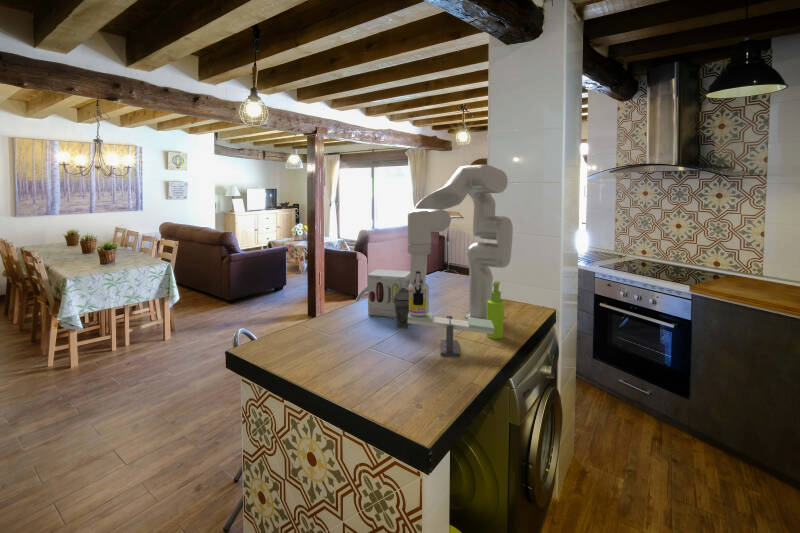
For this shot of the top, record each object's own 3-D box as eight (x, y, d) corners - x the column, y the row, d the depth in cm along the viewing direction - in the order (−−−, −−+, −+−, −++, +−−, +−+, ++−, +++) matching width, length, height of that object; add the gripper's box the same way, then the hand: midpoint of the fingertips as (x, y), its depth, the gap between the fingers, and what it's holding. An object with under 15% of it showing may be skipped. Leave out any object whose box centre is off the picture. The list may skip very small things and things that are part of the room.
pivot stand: (457, 342, 145) (458, 315, 143) (459, 356, 133) (459, 326, 131) (440, 342, 145) (440, 315, 143) (440, 355, 134) (440, 326, 132)
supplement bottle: (415, 309, 142) (415, 273, 140) (432, 312, 138) (432, 275, 136) (404, 314, 137) (404, 276, 135) (421, 317, 133) (422, 278, 131)
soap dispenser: (503, 333, 154) (505, 281, 150) (501, 339, 147) (504, 285, 144) (487, 331, 156) (489, 280, 152) (485, 337, 149) (486, 284, 146)
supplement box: (367, 315, 177) (366, 274, 174) (377, 307, 190) (377, 268, 186) (405, 319, 172) (405, 276, 169) (414, 310, 185) (414, 270, 181)
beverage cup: (410, 330, 158) (410, 279, 154) (391, 329, 159) (391, 278, 156) (413, 324, 165) (413, 275, 161) (395, 323, 166) (395, 274, 163)
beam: (490, 327, 140) (491, 320, 140) (493, 335, 133) (494, 328, 132) (408, 316, 143) (409, 309, 142) (407, 324, 135) (407, 316, 134)
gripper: (409, 245, 143) (409, 295, 146) (405, 252, 126) (405, 308, 129) (431, 245, 142) (430, 295, 145) (430, 252, 125) (429, 309, 128)
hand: (418, 301), depth 137 cm, fingers closed on supplement bottle, 6 cm apart
